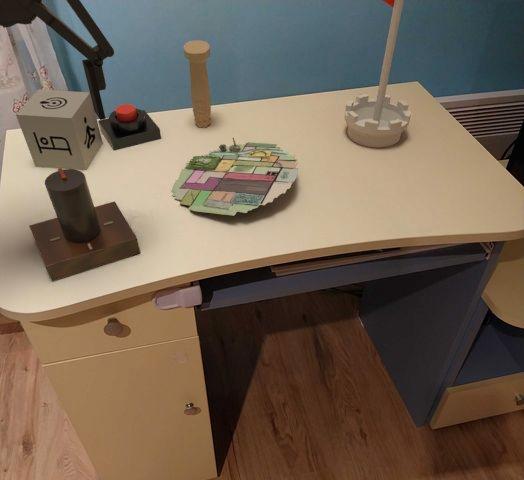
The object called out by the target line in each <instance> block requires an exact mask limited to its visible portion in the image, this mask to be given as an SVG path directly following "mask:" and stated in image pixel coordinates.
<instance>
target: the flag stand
mask: <svg viewBox="0 0 524 480" xmlns="http://www.w3.org/2000/svg"><path fill="white" fill-rule="evenodd" d="M382 1H383V3H385V4H387V5H388V6H390V7H392V13H391V18H390V24H389V30H388V35H387V40H386V45H385V50H384V51H385V52H384V56H383V62H382V67H381V73H380V79H379V83H378V89H377V95H376V98H370V97H369V95H368V93H363V94H358V95H356V97H355V101H354V100H351V99H349V100H348V101H347V102H346V104H345V111H344V121H345V123H346V124H347V132H346V133H347V136H348V138H349V139H350V140H351V141H353V142H354V143H356V144H358V145H361V146H364V147H369V148H388V147H391V146H394V145H395V144H397V143H398V142H399V141H400V140H401V136H402V132H404V131H405V130H406V129H407V128H408V127H409V124H410V121H411V118H412V117H411V116H412V110H409V104H408V103H407V102H406V101H405V100H403V99H400V100H397V102H393V101H391V100H392V99H391V98H392V95H390V94H386V92H387V87H388V82H389V77H390V71H391V67H392V62H393V57H394V52H395V46H396V43H397V42H396V41H397V38H398V32H399V26H400V22H401V17H402V16H401V15H402V12H403V7H404V2H405V1H404V0H382Z"/></svg>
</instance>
